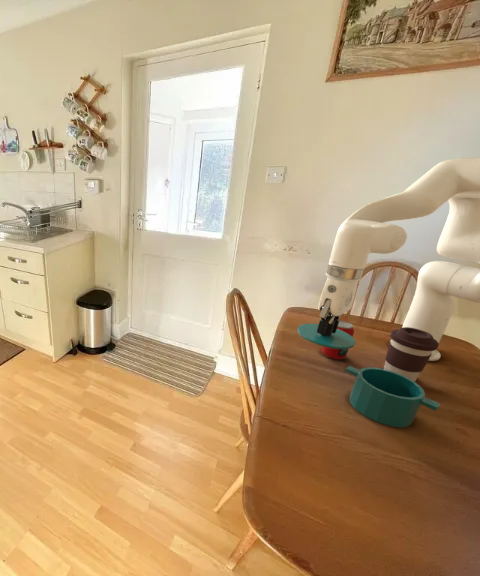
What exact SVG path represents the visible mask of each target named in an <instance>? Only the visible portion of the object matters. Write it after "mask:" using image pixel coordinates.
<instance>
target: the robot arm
mask: <svg viewBox="0 0 480 576" xmlns="http://www.w3.org/2000/svg"><path fill="white" fill-rule="evenodd" d="M447 202H448V205H449V211H448V215H447V218H446V221H445V223H444V225H443V228H442V230H441V233H440V235H439V239H438V240H437V241H438V242H437V243H436V244H437V245H436V253H437V254H438V255H440V256H442V257H445V258H448V259H452V260H457V261H462V262H467V263H472V264H478V265H480V157H469V158H466V157H465V158H464V157H463V158H451V159H446V160H442V161H440V162H438V163H437V164H435V165H434V166H433V167H431V168H430V169H429V170H427V172H425V173H424V174H423V175H422V176H420V177H419V178H418V179H417V180H415V182H412V184H411V185H409V186H408V187H406V189H405V190H403V191H401V192H398V193H395V194H392V195H389V196H386V197H383V198H380V199H378V200H375V201H372V202H370V203H367V204H365V205H363V206H361V207H360V208H358V209H357V210H355V211H354V212H353V213H352V214H350V215H349V216H348V217H347V218H346V219H345V220H344V221H343V222H342V223H341V224H340V225H339V227H338V229H337V231H336V235H335V237H334V238H335V239H334V242H333V246H332V250H331V253H330V256H329V261H328V264H327V267H326V271H325V276H326V277H327V279H326V281H325V284H324V286H323V289H322V292H321V295H320V299H319V301H318V306H317V310H318V312H320V313H319V315H318V317H319V322H318V324H319V326H318V329H317V333H319V334H322V335H325V336H327V337H329V336H330V335H331V332H332V333H336V330H337V327H338V324H339V321H338V320H341V317H342V315H343V314H346V313H347V312H349V311H350V310H351V309H352V308H353V305H354V301H355V298H356V293H357V290H358V284H359V282H360V281H361V280H362V277H363V274H364V271H365V268H366V264H367V261H368V258H369V254H380V255H385V254H391V253H395V252H396V251H398V250H400V249H401V248H403V246H404V245H405V243H406V242H407V238H408V234H407V231H406V230H405V229H404V227H402V226H400V225H397V224H393V223H387V222H394V221H405V220H411V219H418V218H423V217H427V216H430V215H432V214H433V213H434V212H436V211H437V210H438V209H440V208H441V207H442V206H443V205H444V204H445V203H447ZM453 297H456V298H459V299H461V300H466V301H470V302H474V303H478V304H479V303H480V267H474V266H471V265H466V264H461V263H455V262H451V261H446V260H445V261H444V260H433V261H429V262H427V263H425V264H424V265H422V266H421V268H420V270H419V272H418V274H417V280H416V287H415V292H414V295H413V297H412V301H411V304H410V306H409V309H408V310H407V311H408V312H407V314H406V317H405V319H404V321H403V323H402V326H401V328H404V327H409V328H415V329H419V330H423V331H425V332H427V333H429V334H431V335H432V336H433V339H435V340H436V341H437V342H438V343H439V344H440V342H441V339H442V338H443V335H444V333H445V330H446V329H447V326H448V324H449V322H450V319H451V317H452V315H453V313H454V311H455V302H454V300H453ZM334 319H335V320H336V321H335V325H334V324H332V323H333V320H334ZM333 325H334V328H333ZM332 328H333V331H332ZM390 342H391V340H390V341H389V344H390ZM389 344H388V345H389ZM441 356H442V355H441V353H440V351H439V350H437V349H436V350H434V351H432V353H431V357H430V358H429V360H428V362H435V361H439V360H440V359H441Z"/></svg>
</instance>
